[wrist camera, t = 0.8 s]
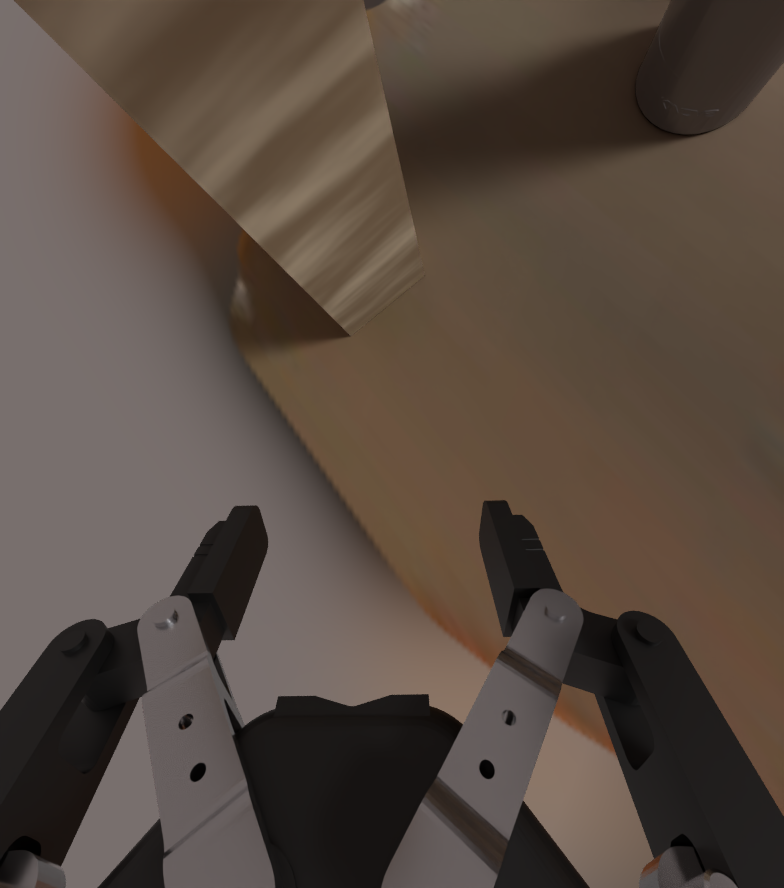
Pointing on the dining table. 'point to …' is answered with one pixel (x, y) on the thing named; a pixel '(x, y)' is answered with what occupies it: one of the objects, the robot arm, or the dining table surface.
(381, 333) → the dining table surface
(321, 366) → the dining table surface
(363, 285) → the stand
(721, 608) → the dining table surface
